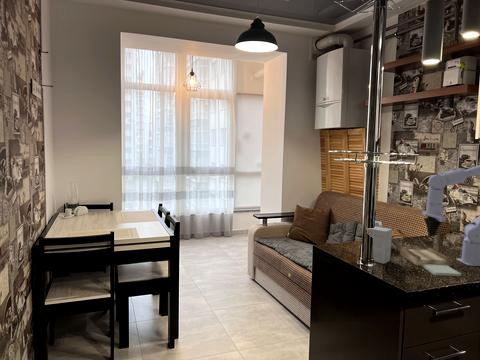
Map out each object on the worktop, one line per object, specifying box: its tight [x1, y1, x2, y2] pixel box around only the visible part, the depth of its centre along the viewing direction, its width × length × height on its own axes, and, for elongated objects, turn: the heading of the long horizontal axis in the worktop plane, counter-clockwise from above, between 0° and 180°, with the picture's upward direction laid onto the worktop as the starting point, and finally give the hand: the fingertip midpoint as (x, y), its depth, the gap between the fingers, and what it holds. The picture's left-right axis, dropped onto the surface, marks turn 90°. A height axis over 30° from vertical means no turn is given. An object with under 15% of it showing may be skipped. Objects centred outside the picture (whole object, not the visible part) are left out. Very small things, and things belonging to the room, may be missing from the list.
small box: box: [366, 226, 393, 265], centre depth 144 cm, size 8×6×13 cm
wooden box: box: [399, 246, 451, 267], centre depth 147 cm, size 13×14×4 cm
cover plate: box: [420, 263, 462, 277], centre depth 135 cm, size 9×10×2 cm
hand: (431, 235), depth 151 cm, fingers closed
